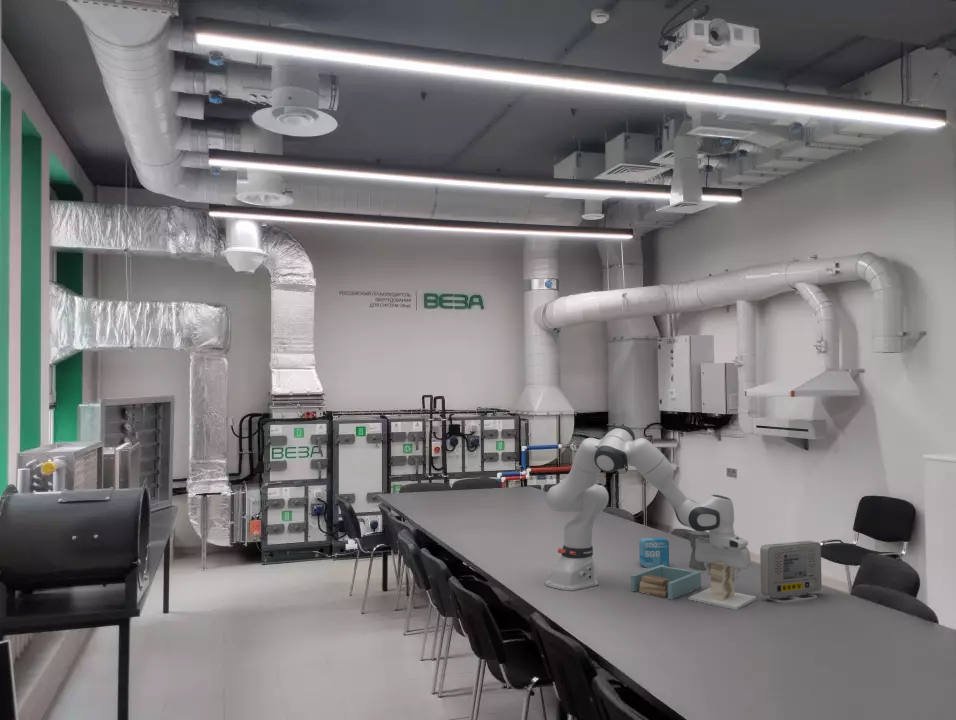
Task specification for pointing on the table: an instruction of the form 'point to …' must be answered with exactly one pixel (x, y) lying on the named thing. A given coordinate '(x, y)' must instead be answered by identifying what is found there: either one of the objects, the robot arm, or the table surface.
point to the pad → (731, 602)
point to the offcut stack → (654, 585)
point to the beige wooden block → (721, 581)
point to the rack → (671, 579)
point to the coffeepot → (692, 537)
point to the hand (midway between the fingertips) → (722, 577)
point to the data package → (654, 552)
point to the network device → (790, 570)
